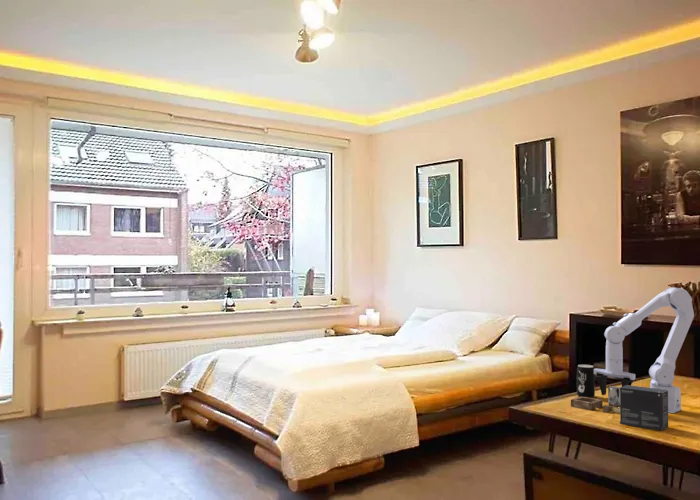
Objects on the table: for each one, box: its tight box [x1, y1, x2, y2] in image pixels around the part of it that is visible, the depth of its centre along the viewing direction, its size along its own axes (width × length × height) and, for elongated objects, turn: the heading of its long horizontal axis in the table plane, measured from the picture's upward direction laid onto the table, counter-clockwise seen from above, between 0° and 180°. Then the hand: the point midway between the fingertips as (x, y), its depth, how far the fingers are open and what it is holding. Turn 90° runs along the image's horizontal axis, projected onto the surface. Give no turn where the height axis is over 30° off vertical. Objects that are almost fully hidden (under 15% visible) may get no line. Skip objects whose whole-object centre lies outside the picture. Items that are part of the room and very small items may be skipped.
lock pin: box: [610, 406, 620, 414], centre depth 213 cm, size 9×2×4 cm, turn 42°
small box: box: [619, 384, 669, 432], centre depth 197 cm, size 13×7×12 cm, turn 48°
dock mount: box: [570, 396, 615, 414], centre depth 220 cm, size 13×8×2 cm, turn 42°
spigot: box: [607, 385, 621, 407], centre depth 223 cm, size 4×4×7 cm
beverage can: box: [576, 364, 596, 398], centre depth 239 cm, size 7×7×12 cm
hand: (614, 396), depth 223 cm, fingers open, 7 cm apart
